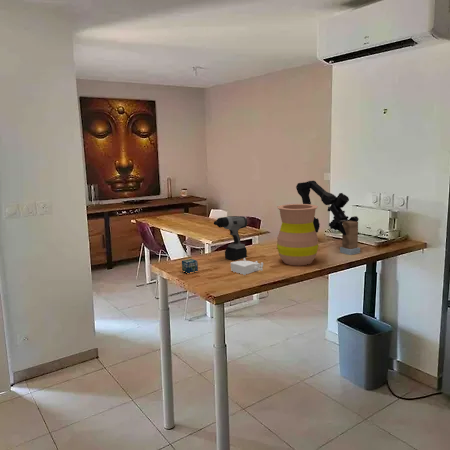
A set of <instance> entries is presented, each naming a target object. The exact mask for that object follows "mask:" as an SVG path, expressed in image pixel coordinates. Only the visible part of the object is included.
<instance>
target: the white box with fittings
mask: <svg viewBox="0 0 450 450" xmlns="http://www.w3.org/2000/svg"><path fill="white" fill-rule="evenodd" d="M263 267H264V262H262V261H261V262H260V263H259V262H258V260H255V261H250V260H247V259H246V257H245V258H242V260H235V261H232V262H230V269H231V271H233V273H235V272H236V274H239V273H240V274H239V275H242V274H243V275H242V276H247V275H249V274H252V273H253V272H259V271H261V272H263ZM246 274H247V275H246Z"/></svg>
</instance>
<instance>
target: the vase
mask: <svg viewBox="0 0 450 450" xmlns="http://www.w3.org/2000/svg"><path fill="white" fill-rule="evenodd" d="M318 208H319V205H317V204H312V203H311V204H303V203H291V204H290V203H289V204H281V205H280V204H279V205H278V206H277V210H279V215H280V221H281V225H280V228H279V230H278V231H279V232H278V234H277V241H276V247H277V251H278V252H277V253H278V256H279V257H280V259H281V260H282V262H283V264H286V265H290V266H306V265H307V264H308V265H310V264H312V263H313V261H314V260H315V258H316V257H317V253H318V249H319V237H318V234H317V233H316V231H315V228H314V224H313V220H314V217H315V216H316V210H317V209H318Z"/></svg>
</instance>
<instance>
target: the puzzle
mask: <svg viewBox="0 0 450 450" xmlns="http://www.w3.org/2000/svg"><path fill="white" fill-rule="evenodd" d="M198 265H199V264H198V260H195V259H194V258H188V259H184V260H181V271H182V270H183V271H185V272H187V273H190V272H195V271H198V272H199V269H198V268H199V267H198ZM195 273H196V272H195Z"/></svg>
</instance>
